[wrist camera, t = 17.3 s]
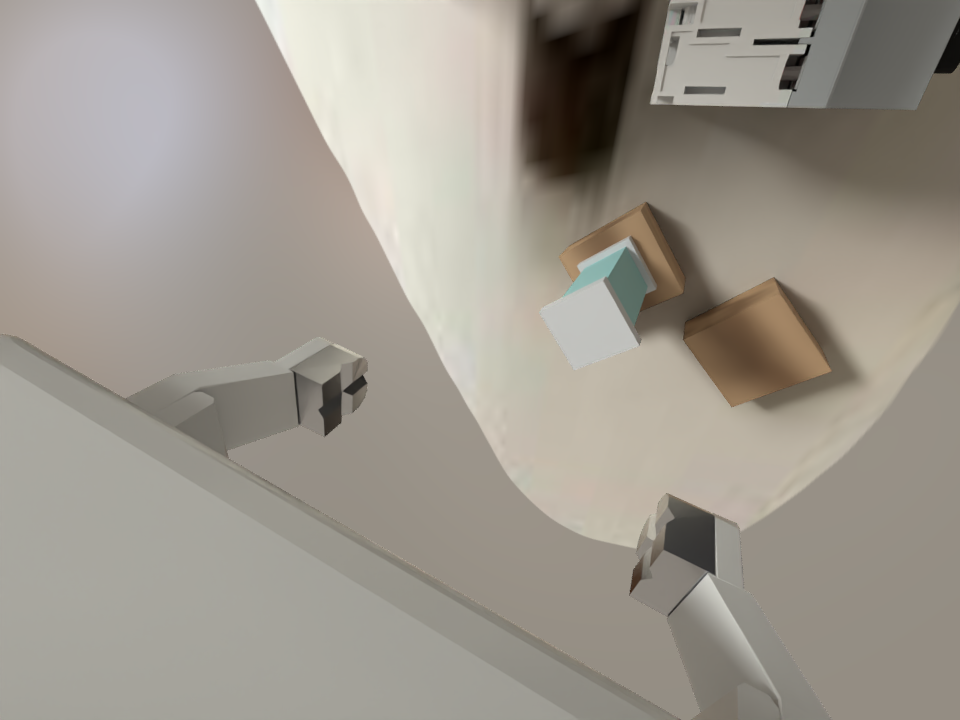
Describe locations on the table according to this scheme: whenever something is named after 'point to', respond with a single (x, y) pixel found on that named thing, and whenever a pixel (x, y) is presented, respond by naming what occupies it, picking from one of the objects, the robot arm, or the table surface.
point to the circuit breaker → (805, 52)
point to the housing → (601, 305)
